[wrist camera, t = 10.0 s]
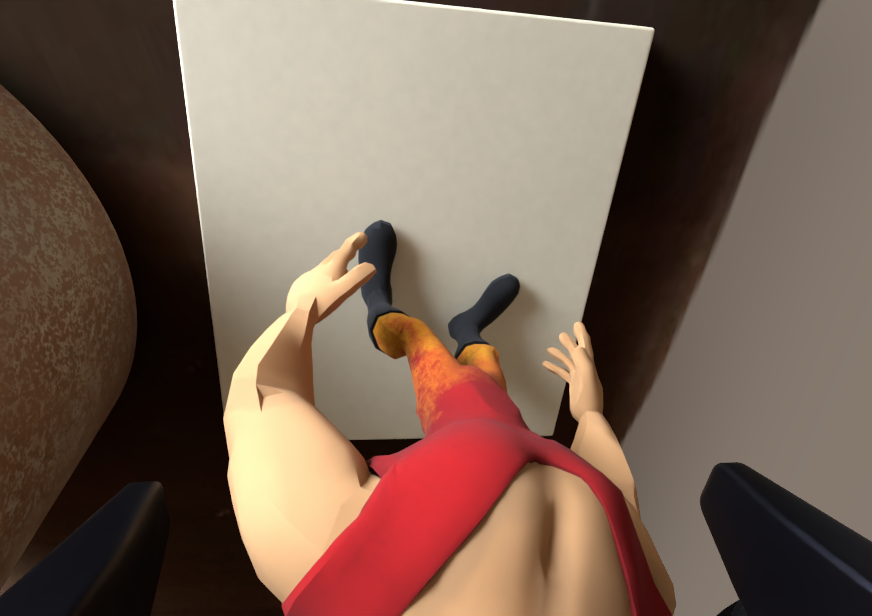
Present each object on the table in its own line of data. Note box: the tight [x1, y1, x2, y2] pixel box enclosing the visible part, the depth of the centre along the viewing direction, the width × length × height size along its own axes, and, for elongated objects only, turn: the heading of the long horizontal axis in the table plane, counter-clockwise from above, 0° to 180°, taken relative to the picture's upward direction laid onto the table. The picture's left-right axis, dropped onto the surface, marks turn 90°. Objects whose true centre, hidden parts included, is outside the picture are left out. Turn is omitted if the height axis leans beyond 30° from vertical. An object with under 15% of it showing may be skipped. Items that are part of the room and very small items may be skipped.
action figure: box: [223, 220, 676, 616], centre depth 10 cm, size 10×4×15 cm, turn 63°
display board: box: [173, 0, 655, 440], centre depth 17 cm, size 12×14×1 cm
